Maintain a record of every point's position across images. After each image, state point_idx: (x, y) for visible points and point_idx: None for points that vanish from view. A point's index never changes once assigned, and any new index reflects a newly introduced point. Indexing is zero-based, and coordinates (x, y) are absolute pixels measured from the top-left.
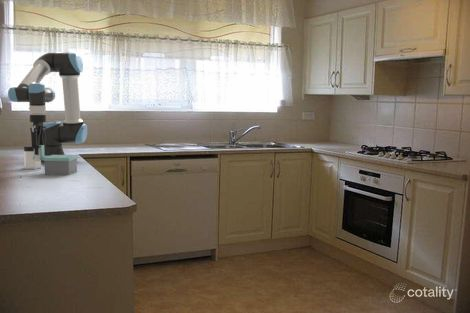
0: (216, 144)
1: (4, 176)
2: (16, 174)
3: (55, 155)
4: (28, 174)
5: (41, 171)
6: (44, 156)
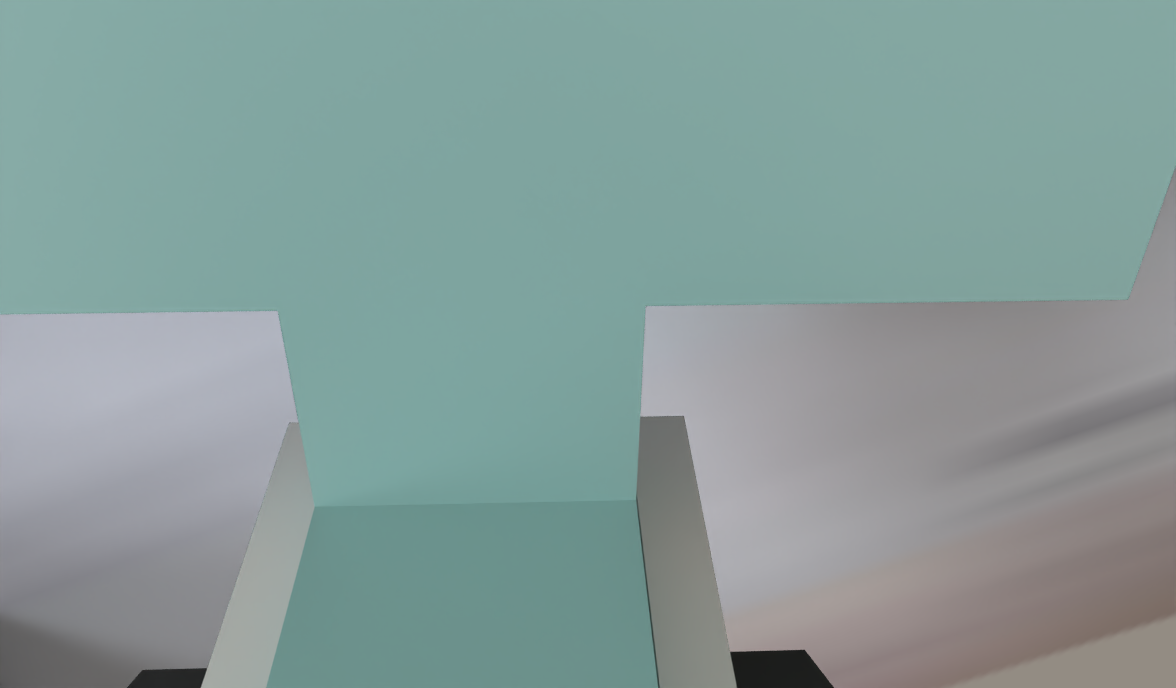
0: None
1: (1016, 665)
2: (776, 597)
3: (11, 57)
4: (785, 407)
5: (267, 326)
6: (598, 413)
